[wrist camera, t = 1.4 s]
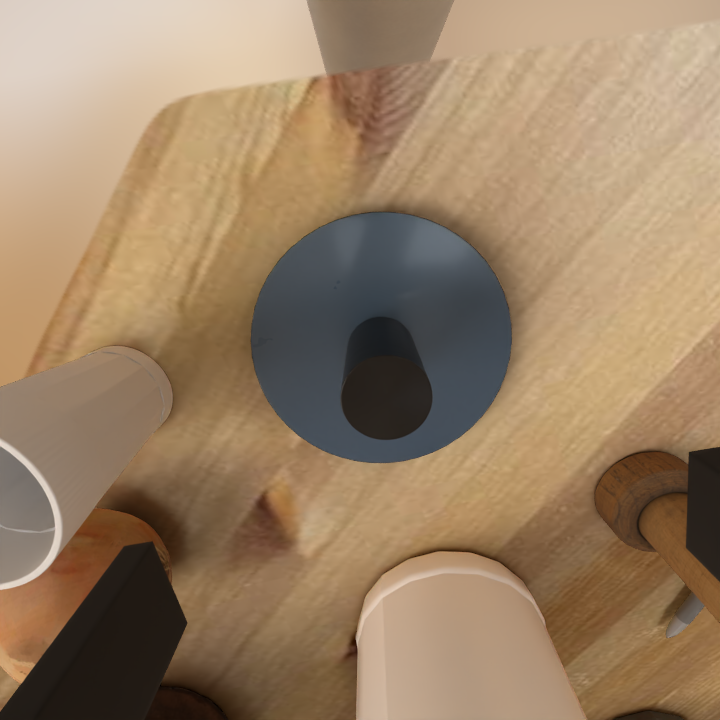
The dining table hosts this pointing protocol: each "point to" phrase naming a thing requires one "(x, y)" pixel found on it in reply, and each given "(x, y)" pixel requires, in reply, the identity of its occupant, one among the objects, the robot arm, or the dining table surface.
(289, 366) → the lid
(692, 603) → the pen
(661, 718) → the bottle
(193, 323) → the dining table surface
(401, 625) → the bottle
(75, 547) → the onion
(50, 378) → the cup
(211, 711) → the jug
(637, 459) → the mortar and pestle
